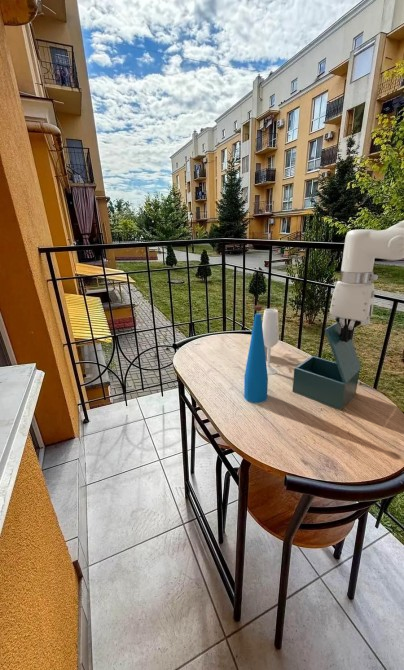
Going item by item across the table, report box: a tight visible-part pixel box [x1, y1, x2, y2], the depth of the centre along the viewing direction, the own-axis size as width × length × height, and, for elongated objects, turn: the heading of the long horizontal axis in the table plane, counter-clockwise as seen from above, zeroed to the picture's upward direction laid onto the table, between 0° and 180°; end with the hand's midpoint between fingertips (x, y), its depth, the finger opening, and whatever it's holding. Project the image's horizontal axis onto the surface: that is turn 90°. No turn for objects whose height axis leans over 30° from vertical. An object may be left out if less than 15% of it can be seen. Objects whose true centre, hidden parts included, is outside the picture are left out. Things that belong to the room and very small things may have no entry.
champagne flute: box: [262, 308, 280, 376], centre depth 104 cm, size 7×7×24 cm
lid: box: [324, 321, 362, 383], centre depth 84 cm, size 16×13×1 cm
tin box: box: [291, 355, 361, 411], centre depth 91 cm, size 16×13×9 cm
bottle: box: [243, 304, 269, 404], centre depth 86 cm, size 7×7×30 cm
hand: (345, 340), depth 82 cm, fingers closed
